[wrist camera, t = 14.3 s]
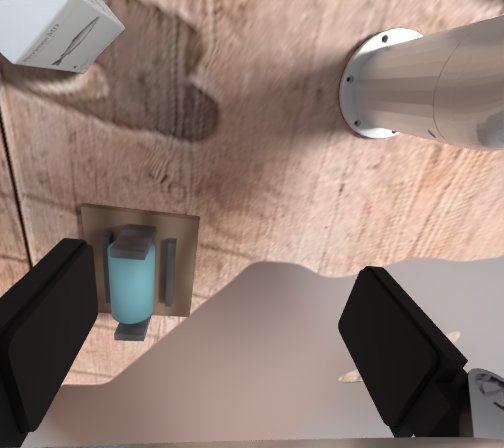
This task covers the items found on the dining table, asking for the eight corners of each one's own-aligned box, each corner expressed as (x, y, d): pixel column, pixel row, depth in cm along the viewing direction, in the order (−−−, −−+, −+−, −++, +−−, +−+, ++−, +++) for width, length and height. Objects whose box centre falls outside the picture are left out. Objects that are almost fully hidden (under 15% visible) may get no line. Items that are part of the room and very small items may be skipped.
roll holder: (199, 216, 41) (195, 244, 34) (189, 311, 49) (184, 351, 42) (84, 203, 38) (52, 230, 31) (93, 306, 46) (70, 347, 39)
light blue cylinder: (120, 234, 40) (97, 255, 35) (161, 241, 40) (144, 263, 35) (123, 293, 45) (103, 320, 39) (159, 299, 45) (144, 326, 40)
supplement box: (84, 75, 32) (11, 68, 21) (24, 12, 29) (-102, -37, 18) (129, 29, 30) (75, -5, 19) (70, -43, 27) (-35, -135, 16)
